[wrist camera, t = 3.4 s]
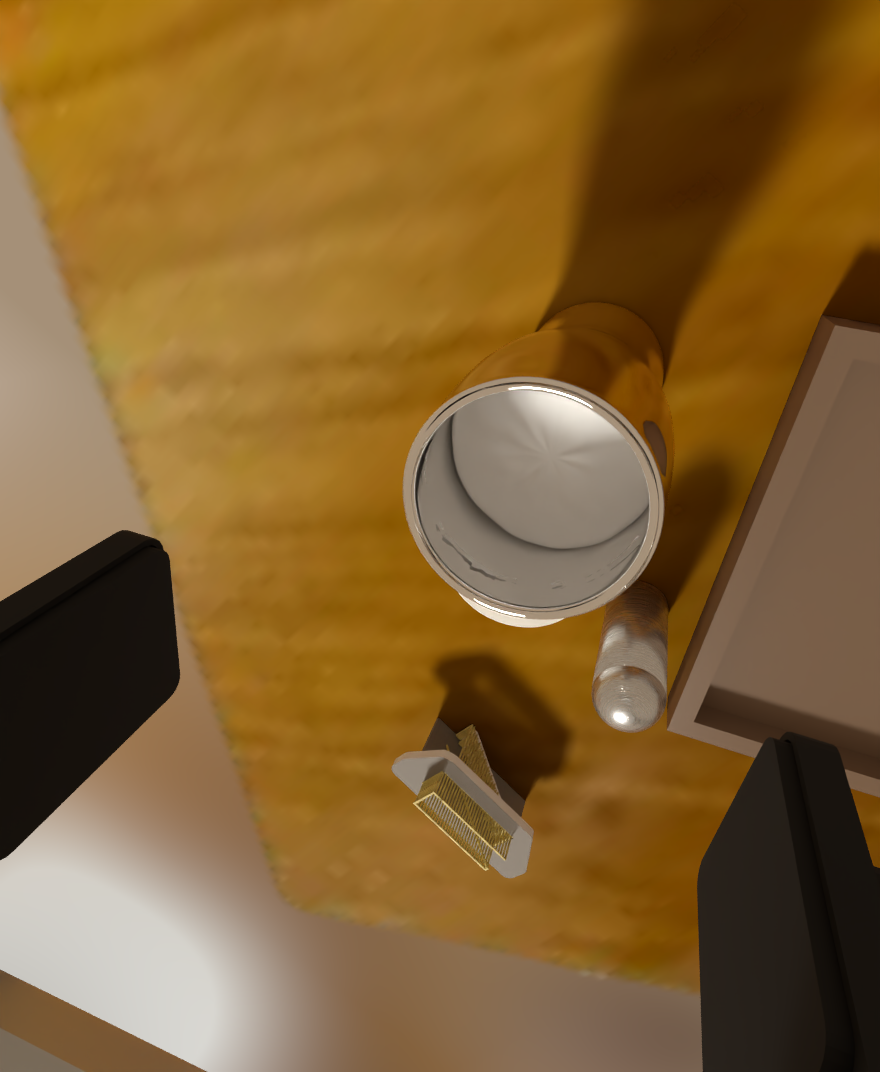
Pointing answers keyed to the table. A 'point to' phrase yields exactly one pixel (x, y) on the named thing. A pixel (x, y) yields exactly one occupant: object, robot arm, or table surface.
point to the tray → (801, 576)
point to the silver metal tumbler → (548, 468)
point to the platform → (468, 798)
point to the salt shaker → (632, 659)
